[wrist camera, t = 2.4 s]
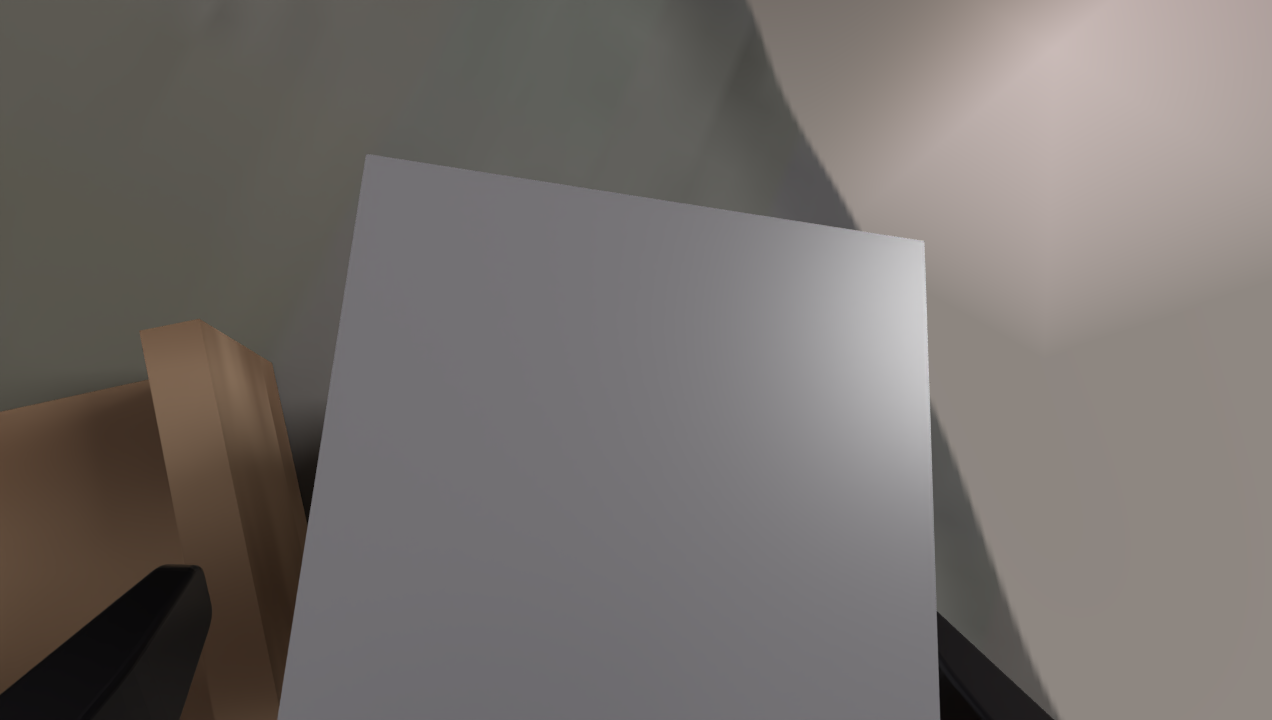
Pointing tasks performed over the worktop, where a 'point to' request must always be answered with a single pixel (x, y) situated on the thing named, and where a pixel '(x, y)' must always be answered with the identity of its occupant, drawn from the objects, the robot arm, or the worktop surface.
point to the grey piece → (617, 465)
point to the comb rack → (158, 513)
